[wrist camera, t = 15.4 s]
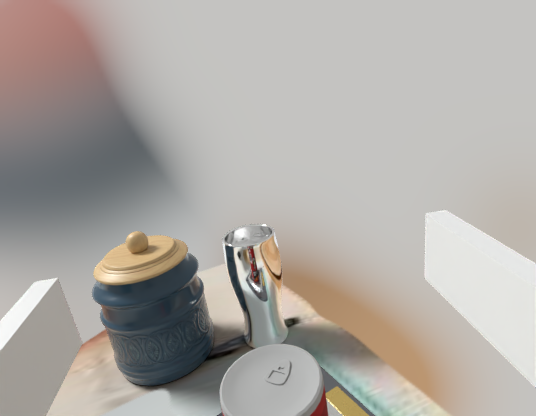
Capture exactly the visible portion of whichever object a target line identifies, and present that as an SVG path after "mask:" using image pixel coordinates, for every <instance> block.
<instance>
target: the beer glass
mask: <svg viewBox="0 0 536 416" xmlns="http://www.w3.org/2000/svg"><path fill="white" fill-rule="evenodd" d="M222 242H223V248H224V258H225V264H226V270H227V274H228V278H229V281H230V284H231V287H232V290H233V292H234V295H235V297H236V299H237V302H238V304H239V306H240V309H241V311H242V315H243V319H244V339H245V342H246V343H247V344H248V345H249V346H250V347H252V348H255V349H256V348H258V347H262V346H266V345H271V344H281V343H282V342H284V341H285V339H286V338H287V336H288V326H287V324H286V321H285V319H284V316H283V312H282V305H281V299H282V266H281V259H280V253H279V249H278V244H277V240H276V236H275V231H274V229H273V228H272V227H271V226H268V225H265V224H250V225H244V226H240V227H237V228H235V229H232V230H230V231H229V232H227V233H226V234H225V235H224V236H223V238H222Z"/></svg>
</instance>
